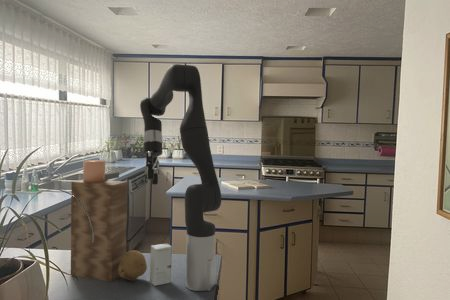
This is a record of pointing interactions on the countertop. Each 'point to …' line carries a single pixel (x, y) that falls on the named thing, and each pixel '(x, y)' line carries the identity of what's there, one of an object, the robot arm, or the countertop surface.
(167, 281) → the skincare box
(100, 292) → the countertop surface
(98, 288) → the countertop surface
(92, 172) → the peach cylinder
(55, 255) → the countertop surface
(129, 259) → the natural sponge
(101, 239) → the stand
